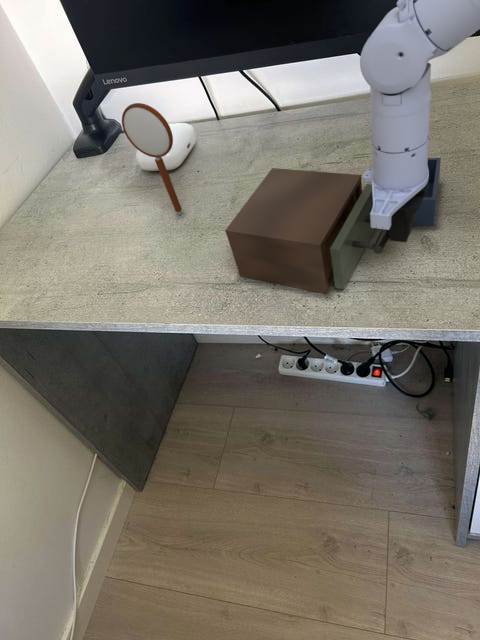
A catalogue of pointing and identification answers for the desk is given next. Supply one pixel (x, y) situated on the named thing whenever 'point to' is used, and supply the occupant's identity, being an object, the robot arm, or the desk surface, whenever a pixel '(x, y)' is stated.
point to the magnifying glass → (151, 139)
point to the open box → (429, 196)
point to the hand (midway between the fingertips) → (399, 238)
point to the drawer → (352, 238)
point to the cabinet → (291, 227)
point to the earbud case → (180, 149)
